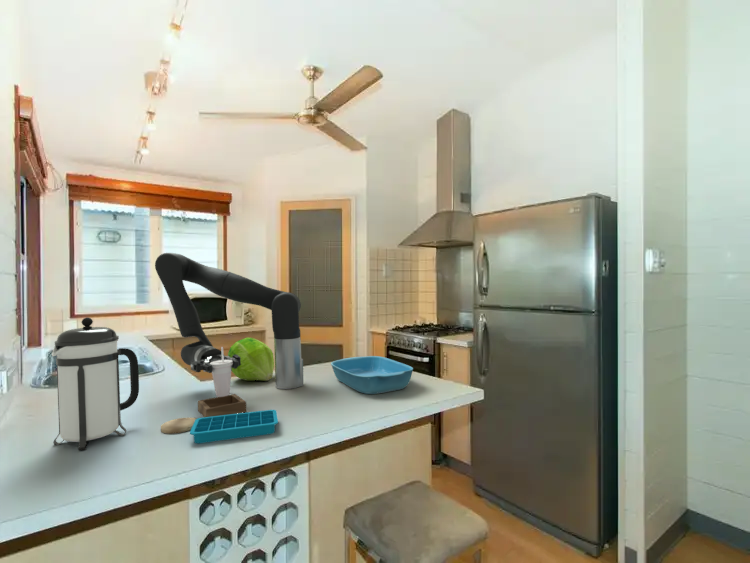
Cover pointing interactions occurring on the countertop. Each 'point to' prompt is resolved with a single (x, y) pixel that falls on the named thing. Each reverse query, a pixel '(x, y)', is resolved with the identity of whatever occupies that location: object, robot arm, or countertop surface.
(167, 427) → the trivet
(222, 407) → the square wooden frame
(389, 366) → the casserole dish
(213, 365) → the smoothie
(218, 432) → the ice cube tray
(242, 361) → the lettuce
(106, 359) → the coffee press
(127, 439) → the countertop surface
